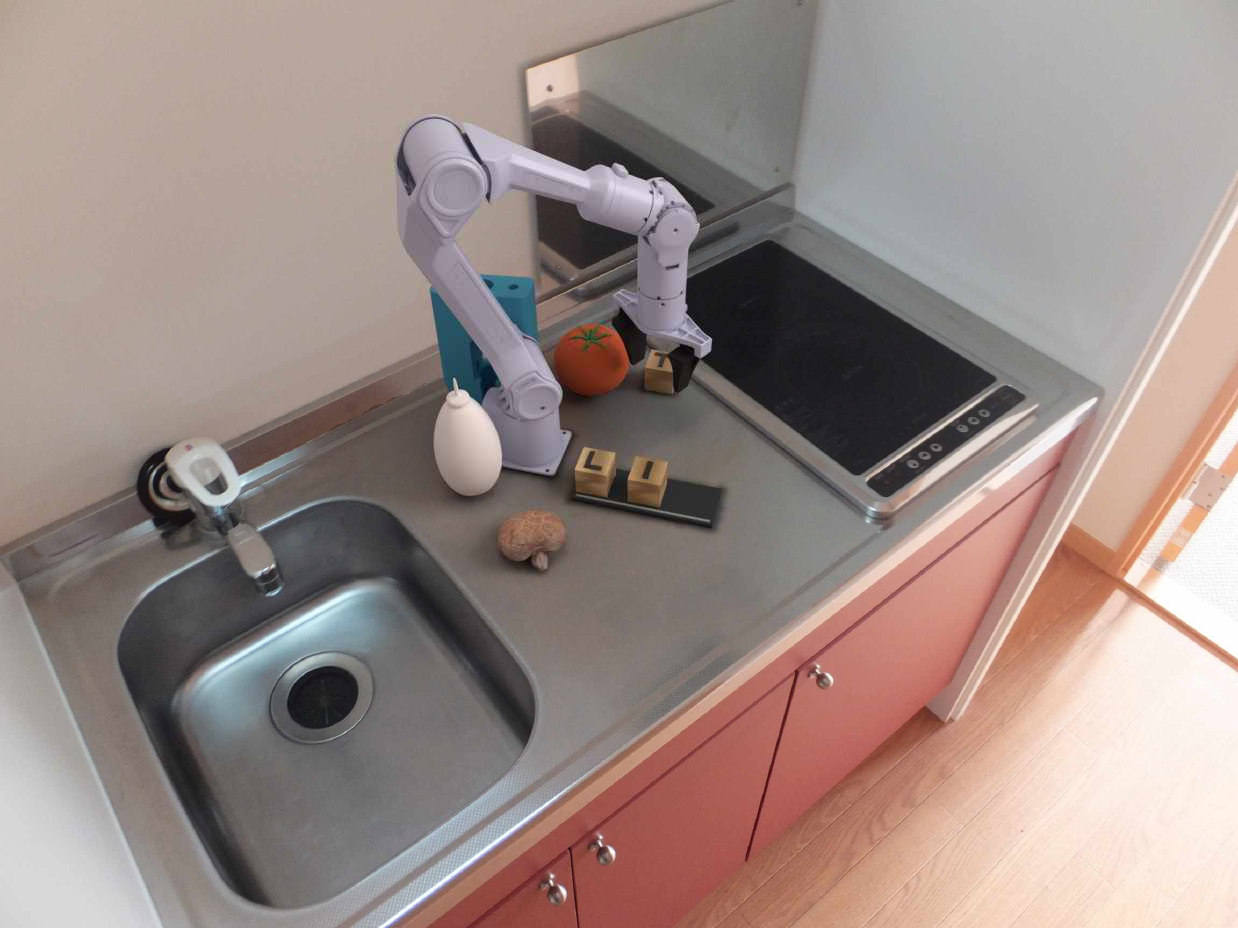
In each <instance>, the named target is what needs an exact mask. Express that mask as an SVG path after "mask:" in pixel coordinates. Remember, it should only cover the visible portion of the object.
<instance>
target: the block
mask: <svg viewBox="0 0 1238 928" xmlns="http://www.w3.org/2000/svg"><path fill="white" fill-rule="evenodd" d="M479 275H480V276H481V278H482V279H483V281H484V282H485V284H486V285H487V286H488V288H489V289H490V291H491V292H492V294H493V295H494V297H495V298H496V299H497V301H498V302H499V304H500V305H501V307H502V308H503V310H504V311H505V313H506V314H507V315H508V317H509V318H510V320H511V321H512V323H513V324H516V325H517V327H518V328H519V329H520V331H521V332H523V333H524V334H526V335H529V336H531V337H533V338H534V339H535V340H536V341H537V342H538V343H539V330H538V315H537V314H538V313H537V301H536V300H537V299H536V285H535V279H534V278H532V277H529V276H515V275H500V274H499V275H498V274H484V273H479ZM429 293H430V300H431V306H432V314H433V319H434V326H435V332H436V339H437V344H438V350H439V357H440V358H439V359H440V362H441V370H442V376H443V382H444V385H445V387H446V389H447V392H448V393H450V392H451V391H454V385H453V378H455V380H456V382H457V386H458V390H459V389H460V390H465V391H466V392H467V393H468V394H469V396H470V397H471V398H473V399H474V400H475V401H476V402H478V403H479V404H480V405H481V406H482V403H483V400H484V397H485V395H486V393H487V391H488V390H489V389H490V388H492V387H501V382H500V380H499V378H498V376H497V374H496V372H495V371H494V369H493V367H492V365H491V364H490V362H489V360H488V359H487V358H484V354H483V352H482V351H481V350H480V349H479V347H478V346H477V345H476V343H475V342H474V341H473V339H472V338H471V337H470V335H469V334H468V333H467V331H466V330H465V329H464V327H463V326H462V325H461V323H460V322H459V321H458V320H457V318H456V317H455V316H454V314H453V313H452V312H451V310H450V309H449V308H448V306H447V305H446V304H445V302H444V301H443V300H442V298H441V297H440V296H439V294H438V293H437V292H436V290H435V289H434V288H433V287H432V285H431V284H430V287H429Z"/></svg>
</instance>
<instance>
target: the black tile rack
mask: <svg viewBox="0 0 1238 928" xmlns="http://www.w3.org/2000/svg"><path fill="white" fill-rule="evenodd" d="M630 471H631V470H630ZM630 471H629V470H625V469H619V468H616V475H615V478H614V481H613V483H612V486H611V489H610V491H609V494H608V497H607V498H605V497H600V496H595V495H590V494H585V493H580V492H576V488H575V489H574V491H573V494H572V497H571V501H573V502H579V503H583V504H588V505H594V506H599V507H603V508H608V509H614V510H617V511H618V510H619V511H624V512H629V513H632V514H633V513H634V514H639V515H645V516H649V517H655V518H659V519H662V520H663V519H664V520H668V521H674V522H679V523H683V524H688V525H695V526H699V527H705V528H710V529H713V526H714V522H715V518H716V514H717V510H718V505H719V502H720V499H721V494H722V488H720V487H714V486H709V485H704V484H698V483H693V482H687V481H684V480H683V481H682V480H677V479H672V478H667V485H666V488H665V492H664V495H663V498H662V501H661V505H660V507H654V506H649V505H644V504H638V503H633V502H628V477H629V474H630Z"/></svg>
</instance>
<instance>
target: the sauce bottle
mask: <svg viewBox="0 0 1238 928" xmlns="http://www.w3.org/2000/svg"><path fill="white" fill-rule="evenodd" d="M453 385H454V391H451V392H450V393H449V392H448V393H447V395H446V396H445V397H446V398H445V401H444V403H443V404H442V406H441V407H440V410H439V411H438V414H437V417H436V421H435V425H434V430H433V431H434V432H433V452H434V459H435V462H436V466H437V468H438V471H439V473H440V475H441V477H442V478H443V480H444V481H445V482H446V484H447V485H448V486H449V487H450V488H451V489H452V490H454V491H455V492H456V493H458V494H460V495H462V496H467V497H473V496H479V495H482V494H484V493H487V492H488V491H490V490H491V489H492V488H493V487H494V485H495V484H496V482H497V481H498V479H499V477H500V473H501V470H502V467H501V465H502V450H501V444H500V440H499V436H498V433H497V431H496V428H495V426H494V424H493V422H492V420H491V419H490V417H489V415H488V414H487V413H486V411H485V410H484V409H483V408H482V406H481V405H480V404H479V403H478V402H476V401H475V400H474V399H473V398H471V397H470V396H469V394H468V393H467V392H466V391H465V390H460V389H459V390H458V386H457V382H456V380H455V378H453Z"/></svg>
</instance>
